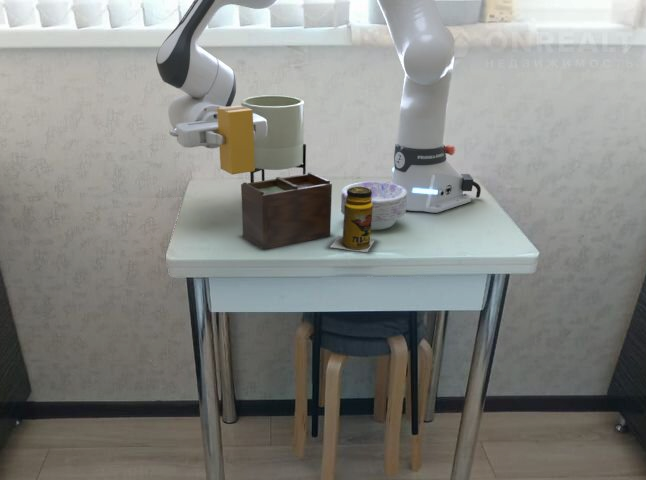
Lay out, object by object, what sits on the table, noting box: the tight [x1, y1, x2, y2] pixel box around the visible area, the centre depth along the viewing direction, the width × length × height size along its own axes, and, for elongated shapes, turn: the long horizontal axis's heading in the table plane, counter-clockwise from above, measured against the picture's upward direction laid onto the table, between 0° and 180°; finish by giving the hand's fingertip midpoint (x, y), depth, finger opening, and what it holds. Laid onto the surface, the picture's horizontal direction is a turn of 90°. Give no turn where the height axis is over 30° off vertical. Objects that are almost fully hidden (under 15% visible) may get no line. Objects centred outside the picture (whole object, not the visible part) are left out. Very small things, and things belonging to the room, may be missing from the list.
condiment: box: [329, 187, 375, 253], centre depth 151 cm, size 7×8×12 cm
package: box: [217, 104, 255, 175], centre depth 147 cm, size 6×6×12 cm
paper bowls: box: [340, 181, 407, 231], centre depth 163 cm, size 15×15×8 cm
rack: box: [240, 171, 333, 250], centre depth 155 cm, size 17×10×12 cm, turn 121°
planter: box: [240, 94, 307, 183], centre depth 174 cm, size 15×16×23 cm
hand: (238, 138), depth 146 cm, fingers closed on package, 5 cm apart
